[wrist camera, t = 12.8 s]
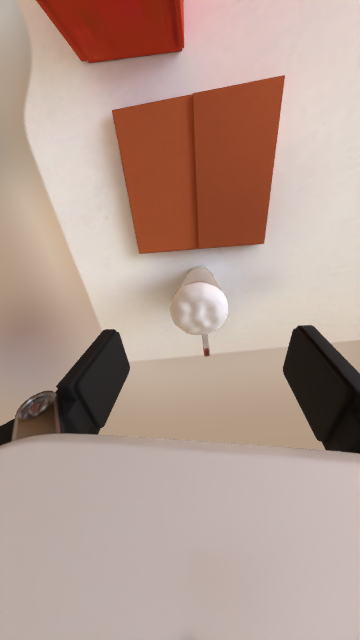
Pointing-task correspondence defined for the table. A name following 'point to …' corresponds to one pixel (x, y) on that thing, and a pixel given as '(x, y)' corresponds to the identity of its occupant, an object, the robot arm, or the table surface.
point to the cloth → (201, 166)
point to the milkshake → (199, 305)
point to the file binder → (118, 27)
